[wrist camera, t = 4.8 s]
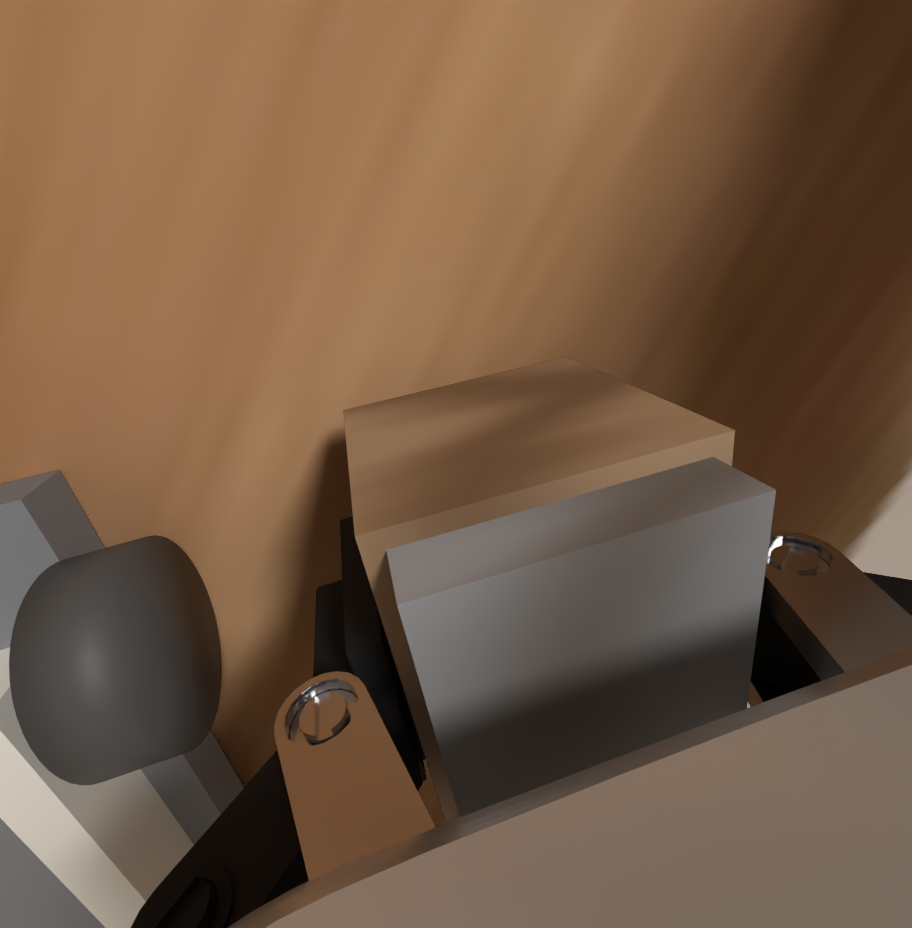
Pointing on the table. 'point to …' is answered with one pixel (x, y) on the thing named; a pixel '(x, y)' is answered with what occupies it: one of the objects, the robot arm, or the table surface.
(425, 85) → the table surface
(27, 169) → the table surface
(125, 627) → the chassis
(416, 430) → the grey block on wood
